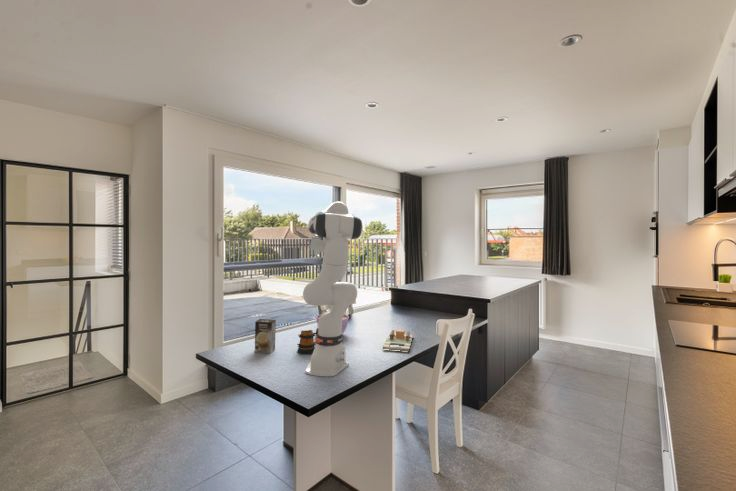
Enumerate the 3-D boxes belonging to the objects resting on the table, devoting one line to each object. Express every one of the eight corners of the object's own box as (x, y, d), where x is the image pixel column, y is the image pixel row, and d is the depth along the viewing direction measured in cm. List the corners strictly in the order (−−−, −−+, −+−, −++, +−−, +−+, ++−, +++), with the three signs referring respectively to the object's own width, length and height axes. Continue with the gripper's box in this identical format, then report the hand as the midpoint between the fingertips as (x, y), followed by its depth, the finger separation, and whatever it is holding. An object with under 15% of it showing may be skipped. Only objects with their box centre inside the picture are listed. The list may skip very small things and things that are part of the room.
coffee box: (253, 352, 174) (254, 321, 174) (259, 348, 180) (259, 318, 180) (271, 353, 173) (271, 322, 173) (275, 349, 180) (276, 319, 179)
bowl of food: (309, 338, 200) (310, 318, 200) (324, 329, 219) (324, 311, 219) (341, 342, 194) (341, 322, 194) (353, 332, 213) (353, 314, 213)
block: (403, 338, 196) (403, 331, 196) (395, 337, 197) (396, 331, 197) (404, 336, 201) (404, 329, 201) (396, 335, 202) (396, 329, 202)
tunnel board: (408, 352, 178) (409, 343, 178) (382, 350, 181) (382, 341, 181) (413, 337, 206) (413, 329, 205) (390, 335, 208) (390, 327, 208)
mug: (302, 356, 170) (302, 333, 170) (293, 350, 178) (293, 328, 178) (324, 351, 178) (325, 329, 178) (315, 346, 186) (315, 325, 186)
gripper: (310, 235, 199) (307, 257, 202) (344, 242, 198) (340, 264, 201) (313, 233, 205) (310, 254, 208) (346, 240, 204) (342, 261, 207)
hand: (325, 259), depth 205 cm, fingers open, 8 cm apart
